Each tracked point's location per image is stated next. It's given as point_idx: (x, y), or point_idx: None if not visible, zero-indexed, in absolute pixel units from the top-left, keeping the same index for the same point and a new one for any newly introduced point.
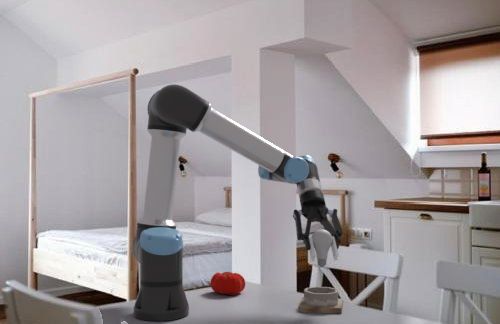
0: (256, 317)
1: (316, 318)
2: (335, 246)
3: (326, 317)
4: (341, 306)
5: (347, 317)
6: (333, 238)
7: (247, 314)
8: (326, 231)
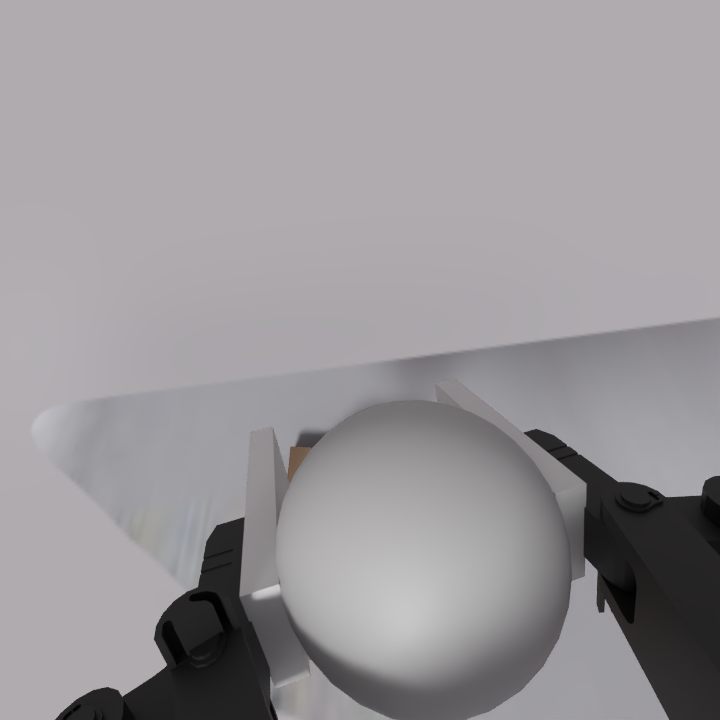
0: (579, 359)
1: (382, 373)
2: (259, 480)
3: (349, 390)
4: (288, 476)
5: (275, 400)
6: (258, 561)
7: (624, 392)
8: (356, 478)
